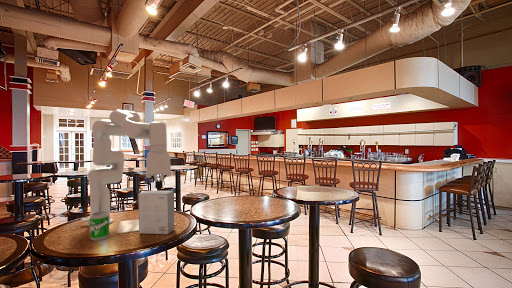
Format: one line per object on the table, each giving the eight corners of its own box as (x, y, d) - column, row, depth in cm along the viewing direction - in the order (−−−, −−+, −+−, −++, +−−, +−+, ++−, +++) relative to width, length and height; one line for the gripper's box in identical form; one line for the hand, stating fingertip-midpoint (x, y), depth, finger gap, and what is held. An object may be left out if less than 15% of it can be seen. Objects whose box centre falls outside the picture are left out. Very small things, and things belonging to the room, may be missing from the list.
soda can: (92, 237, 118) (92, 212, 118) (110, 235, 121) (110, 210, 121) (88, 242, 111) (87, 216, 111) (107, 240, 114) (106, 214, 114)
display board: (117, 234, 122) (117, 233, 122) (120, 222, 142) (120, 221, 142) (176, 225, 134) (176, 224, 134) (171, 215, 154) (171, 214, 154)
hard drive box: (175, 229, 127) (174, 190, 127) (168, 234, 120) (167, 194, 119) (146, 228, 129) (146, 190, 128) (138, 233, 121) (137, 193, 121)
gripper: (140, 149, 105) (141, 192, 105) (176, 148, 112) (177, 189, 111) (139, 150, 112) (140, 190, 112) (174, 149, 119) (175, 187, 118)
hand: (159, 189), depth 112 cm, fingers closed
